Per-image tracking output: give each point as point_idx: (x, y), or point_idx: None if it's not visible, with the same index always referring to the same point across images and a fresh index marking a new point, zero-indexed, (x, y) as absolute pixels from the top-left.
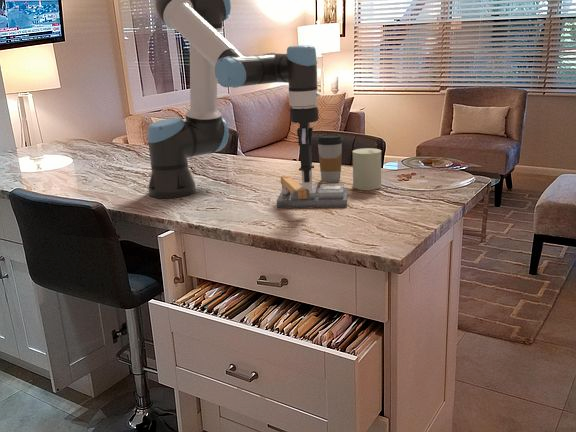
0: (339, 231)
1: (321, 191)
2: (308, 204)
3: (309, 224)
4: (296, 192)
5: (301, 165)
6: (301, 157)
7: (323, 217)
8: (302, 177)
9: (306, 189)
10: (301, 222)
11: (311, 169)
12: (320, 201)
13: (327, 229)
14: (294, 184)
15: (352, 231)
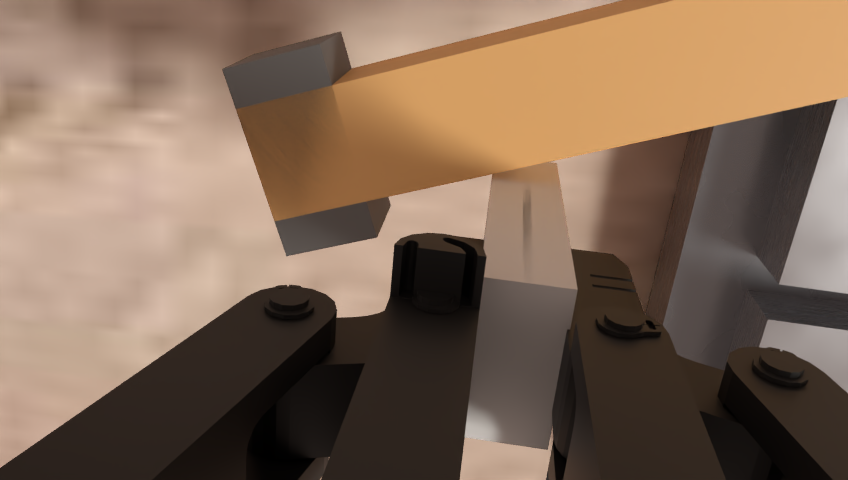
0: (6, 339)
1: (809, 350)
2: (689, 169)
3: (161, 141)
4: (233, 89)
5: (204, 338)
6: (44, 464)
7: (345, 265)
8: (487, 235)
9: (347, 225)
10: (217, 74)
11: (503, 440)
12: (666, 293)
13: (43, 267)
14: (671, 71)
15: (13, 415)
